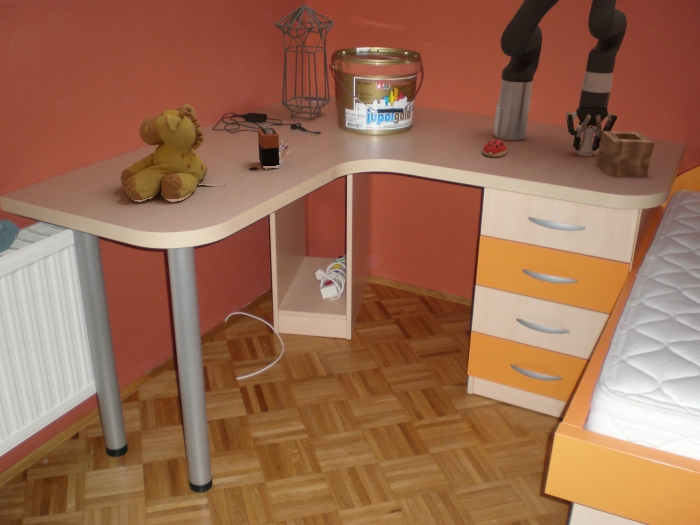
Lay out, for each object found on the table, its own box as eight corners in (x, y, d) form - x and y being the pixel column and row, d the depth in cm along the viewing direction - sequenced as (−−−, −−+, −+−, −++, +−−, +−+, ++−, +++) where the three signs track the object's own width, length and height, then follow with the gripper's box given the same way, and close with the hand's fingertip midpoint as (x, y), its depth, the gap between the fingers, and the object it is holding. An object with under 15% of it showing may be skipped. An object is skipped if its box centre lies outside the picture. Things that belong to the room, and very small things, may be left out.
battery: (275, 161, 176) (273, 124, 172) (280, 168, 170) (278, 130, 166) (258, 162, 175) (257, 125, 171) (263, 170, 169) (261, 131, 165)
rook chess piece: (593, 157, 184) (598, 129, 180) (577, 156, 185) (581, 128, 181) (591, 153, 188) (596, 125, 184) (575, 152, 189) (580, 124, 185)
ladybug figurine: (508, 151, 189) (510, 138, 188) (503, 160, 181) (504, 147, 180) (485, 148, 192) (486, 136, 190) (478, 157, 183) (480, 145, 182)
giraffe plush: (118, 181, 160) (106, 102, 152) (214, 170, 169) (209, 95, 160) (128, 210, 143) (116, 123, 135) (234, 196, 152) (229, 113, 143)
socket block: (607, 175, 170) (614, 141, 166) (596, 163, 179) (602, 131, 175) (646, 176, 170) (654, 142, 166) (633, 164, 179) (640, 132, 175)
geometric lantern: (336, 113, 225) (336, 4, 210) (317, 124, 212) (316, 8, 197) (294, 109, 230) (292, 1, 215) (273, 119, 217) (269, 5, 202)
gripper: (618, 86, 181) (606, 146, 189) (566, 85, 182) (556, 145, 189) (627, 92, 175) (615, 154, 182) (573, 90, 175) (563, 153, 183)
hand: (585, 149), depth 186 cm, fingers closed on rook chess piece, 4 cm apart
